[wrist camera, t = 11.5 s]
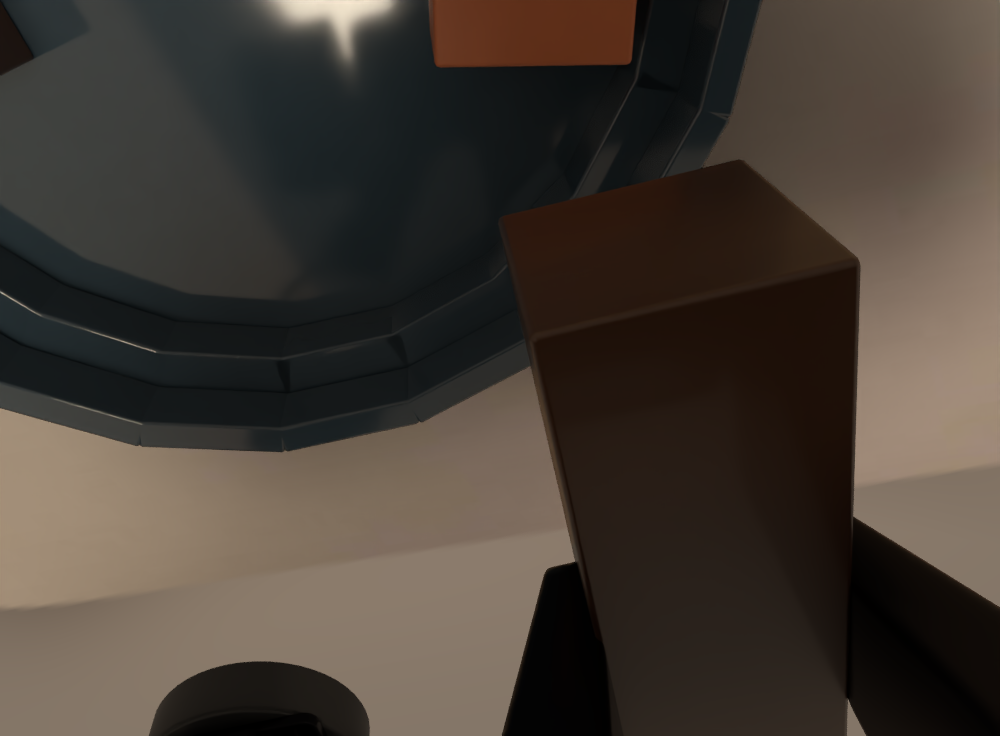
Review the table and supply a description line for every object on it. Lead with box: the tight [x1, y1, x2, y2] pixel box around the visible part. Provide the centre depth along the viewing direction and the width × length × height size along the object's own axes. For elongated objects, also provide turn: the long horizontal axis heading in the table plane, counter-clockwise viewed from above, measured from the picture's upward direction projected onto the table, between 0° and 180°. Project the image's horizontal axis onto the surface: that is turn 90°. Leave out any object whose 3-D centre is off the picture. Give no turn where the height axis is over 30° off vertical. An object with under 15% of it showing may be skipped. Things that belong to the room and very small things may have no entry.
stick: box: [498, 160, 860, 736], centre depth 9 cm, size 8×2×2 cm, turn 12°
